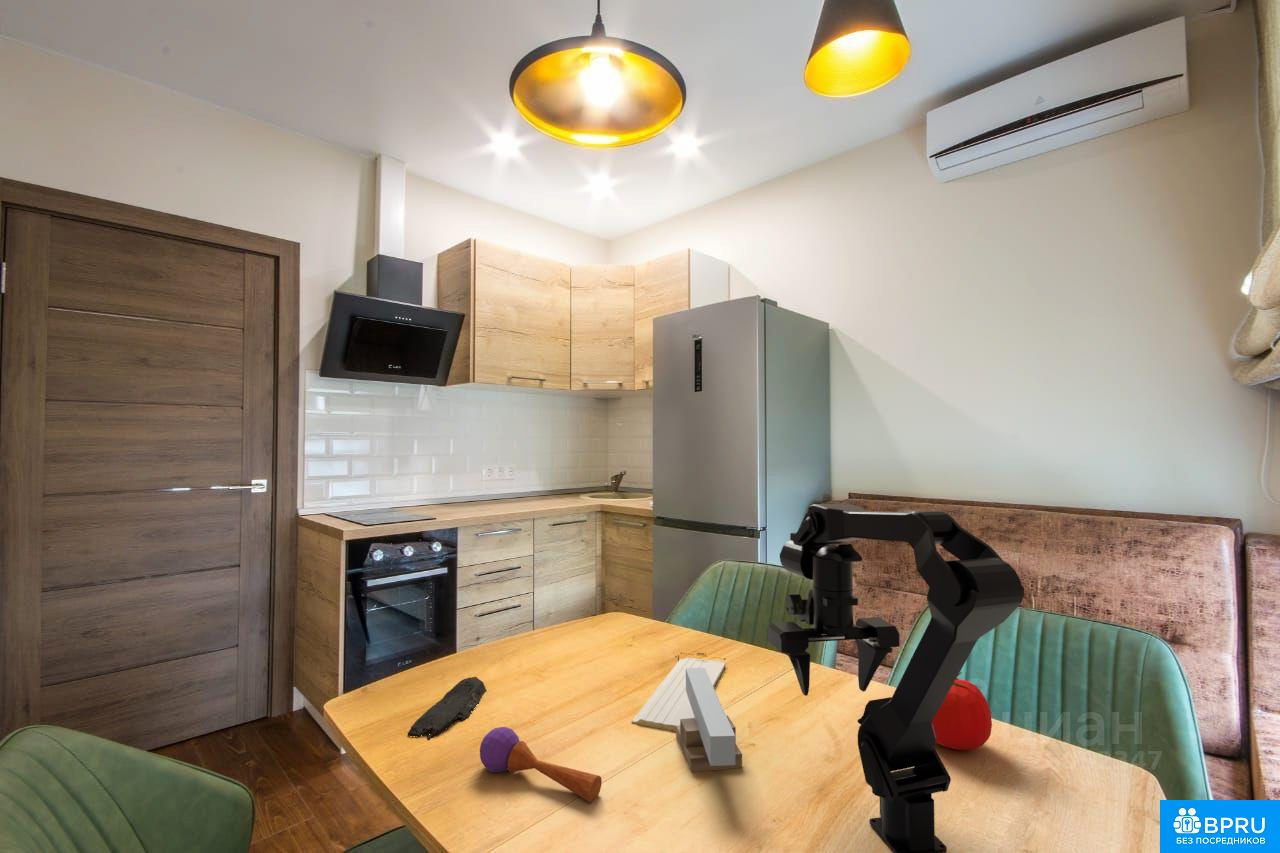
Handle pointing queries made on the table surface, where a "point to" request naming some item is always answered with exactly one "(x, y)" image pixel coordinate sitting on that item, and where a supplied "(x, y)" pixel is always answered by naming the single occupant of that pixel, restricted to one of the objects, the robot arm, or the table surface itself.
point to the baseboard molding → (675, 695)
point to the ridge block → (700, 747)
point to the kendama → (533, 763)
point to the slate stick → (710, 718)
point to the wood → (450, 708)
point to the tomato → (963, 717)
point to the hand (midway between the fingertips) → (833, 692)
